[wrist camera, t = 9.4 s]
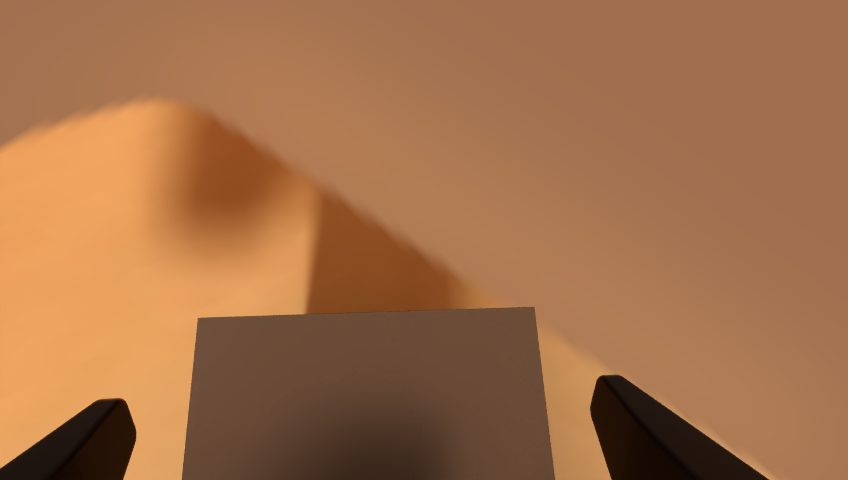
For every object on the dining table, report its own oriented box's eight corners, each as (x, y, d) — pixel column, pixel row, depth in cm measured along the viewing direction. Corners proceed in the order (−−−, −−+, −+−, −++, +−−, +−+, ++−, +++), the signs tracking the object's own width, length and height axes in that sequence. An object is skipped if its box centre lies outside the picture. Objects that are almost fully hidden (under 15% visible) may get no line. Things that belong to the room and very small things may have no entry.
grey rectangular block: (463, 524, 17) (583, 714, 7) (294, 537, 17) (153, 764, 6) (452, 354, 19) (533, 306, 9) (300, 360, 18) (197, 318, 8)
